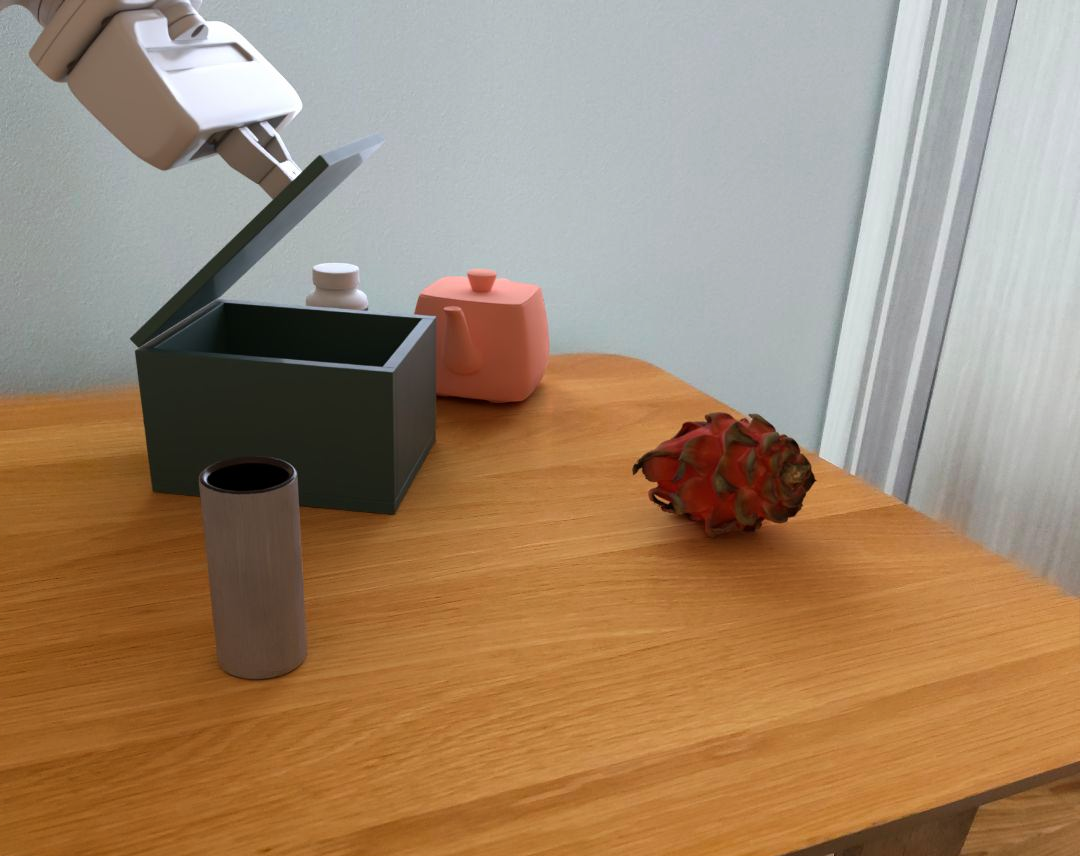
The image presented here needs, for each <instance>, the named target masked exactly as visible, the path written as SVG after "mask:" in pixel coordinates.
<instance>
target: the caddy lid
mask: <svg viewBox="0 0 1080 856" xmlns="http://www.w3.org/2000/svg"><path fill="white" fill-rule="evenodd" d="M386 140H387V138H385V137H384V135H383V134H382V133H381V131H379V130H378V131H376V132H375V131H374V132H373V133H370V134H368V135H365V136H363V137H361V138H358V139H355V140H353V141H351V142H348V143H346V144H343V145H340V146H338V147H336V148H333V149H330V150H328V151H326V152H324V153H323V152H322V153H320V154H318V155H317V156H316V157H315V158H314V159H313V160H312V161H311V162H310V163H309V164H307V166H306V167H305V168H303V170H302V172H301V173H300V174H299V175H298V176H297V177H296V178H295V179H294V180H293V181H292V182H291V183H290V184H289V185H288V186H287V187H285V188H284V189H283V190H282V191H281V192H280V193H279V194H278V195H277V196H276V197H275V198H274V199H272V200H271V201H269V203H268V204H267V205H266V206H265V207H264V208H263V209H261V211H259V212H258V213H257V215H255V216H254V217H253V218H252V220H250V221H249V222H248V223H247V224H246V225H245V226H243V228H242V229H241V230H240V231H239V232H238V233H237V234H235V236H233V238H231V240H229V242H227V244H226V245H224V246H223V247H222V248H221V249H220V250H219V251H218V252H217V253H216V254H215V255H214V256H213V257H212V258H210V260H209V261H208V262H207V263H206V264H205V265H204V266H202V268H201V269H200V270H198V272H196V273H195V274H194V275H193V276H192V278H190V279H189V280H188V281H187V282H186V283H185V284H184V285H183V286H182V287H181V288H179V290H177V292H175V293H174V295H173V296H172V297H171V298H170V299H168V300H167V302H165V303H164V304H163V305H162V306H161V307H160V308H159V309H158V310H157V311H156V312H155V313H154V314H153V315H152V316H151V317H150V318H149V319H147V321H146V322H145V323H144V324H143V325H142V326H141V327H139V329H138V330H137V331H135V332H134V333H133V335H131V336H130V337H129V340H130V341H131V342H132V343H133V345H135V346H136V347H137V349H138V348H140V347H142V346H143V345H145V344H147V343H148V342H150V341H151V340H153V339H155V338H156V337H158V336H159V335H161V334H163V333H164V332H166V331H167V330H169V329H171V328H172V327H174V326H175V325H177V324H179V323H180V322H182V321H183V320H185V319H186V318H188V317H190V316H191V315H193V314H194V313H196V312H198V311H199V310H201V309H202V308H204V307H206V306H207V305H209V304H210V303H212V302H213V301H215V300H217V299H220V298H221V297H222V296H223V295H224V294H225V293H226V292H227V291H228V290H230V289H231V288H232V287H233V286H234V285H235V284H236V283H237V282H238V281H239V280H240V279H241V278H242V277H243V276H245V275H246V273H248V272H249V270H251V269H252V268H253V267H254V266H255V265H256V264H257V263H258V262H259V261H260V260H262V258H263V257H265V255H266V254H267V253H269V252H270V251H271V250H272V249H274V247H275V246H276V245H277V244H278V243H280V241H281V240H282V239H284V238H285V237H286V236H287V235H288V234H289V233H290V232H291V231H292V230H293V229H294V228H295V227H296V226H297V225H299V224H300V223H301V221H303V220H304V219H305V218H306V217H307V216H308V215H309V214H310V213H311V212H313V210H314V209H316V208H317V207H318V206H319V204H321V203H322V202H323V201H324V200H325V199H326V198H327V197H329V195H330V194H332V192H333V191H334V190H335V189H337V188H338V187H339V186H340V185H341V184H342V183H343V182H344V181H345V180H347V178H348V177H349V176H351V174H352V173H353V172H355V171H356V169H358V168H359V167H360V166H361V165H362V164H363V163H364V162H365V161H366V160H368V158H370V156H371V155H373V153H374V152H376V151H377V150H378V149H379V148H380V147H381V146H382V145H383V144H384V143H385V142H386Z"/></svg>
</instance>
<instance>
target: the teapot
mask: <svg viewBox="0 0 1080 856" xmlns="http://www.w3.org/2000/svg"><path fill="white" fill-rule="evenodd" d="M497 274H498V273H497V272H496V271H495V270H492V269H488V268H472V269H469V270H467V271H466V275H467V276H457V275H456V276H454V275H450V276H449V275H448V276H443V277H441V278H439V279H437V280H435V281H434V282H433V283H430V285H428V286H427V287H425V288H424V289H423V290H422V291H421V292H420V293H418V297H417V301H416V304H415V307H414V308H415V309H414V311H413V314H414V315H427V316H436V396H439V397H456V398H457V397H458V398H466V399H473V400H485V401H487V402H489V403H493V404H504V403H508V402H522V401H524V400H526V399H527V398H528V397H530V396H531V394H533V392H534V391H535V390H536V389H537V388H538V386H539V385H540V383H541V381H542V380H543V378H544V375H545V373H546V371H547V368H548V365H549V361H550V331H549V322H548V316H547V310H546V304H545V299H544V295H543V290H542V288H541V286H540V285H537V284H533V283H525V282H518V281H511V280H510V279H508V278H504V277H499V278H497V276H498V275H497Z"/></svg>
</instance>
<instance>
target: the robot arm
mask: <svg viewBox="0 0 1080 856" xmlns="http://www.w3.org/2000/svg"><path fill="white" fill-rule="evenodd" d="M202 4H203V0H0V12H1V11H3V10H6V9H7V8H9V7H11V6H14V5H17V6H21V7H23V8H25V9H26V10H28V11H29V13H30V14H31V15H32V17H33V18H34V20H36V22H37V23H38V24H39V26H41V27H42V28H43V29H42V31H41V33H40V34H39V36H38V37H37V38H36V40H35V42H34V43H33V45H32V46H31V48H30V50H29V51H28V56H29V58H30V60H31V61H32V63H33V64H34V65H35V66H36V67H37V68H38V69H39V70H40V71H41V72H42V73H43V74H44V75H45V77H47V78H48V79H50V80H51V81H52V82H55V83H58V84H65V83H66V84H67V86H68V88H69V91H70V92H71V94H72V95H73V96H74V98H75V99H76V100H77V101H78V102H80V104H81V105H82V106H83V107H84V108H85V109H86V110H87V111H88V113H90V115H92V116H93V117H94V118H95V119H96V120H97V122H99V123H100V124H101V125H102V126H103V127H104V128H105V129H106V130H107V131H108V132H109V133H110V134H111V135H112V136H113V137H114V138H116V139H117V141H119V142H120V143H121V144H122V145H123V146H124V147H125V148H127V149H128V151H130V152H131V153H132V154H133V155H134V156H136V157H137V158H139V159H140V160H141V161H143V162H145V163H147V164H148V165H150V166H152V167H153V168H156V169H158V170H160V171H163V172H167V171H170V170H173V169H176V168H178V167H182V166H185V165H189V164H192V163H195V162H199V161H201V160H205V159H209V158H211V157H214V156H219V157H221V158H222V159H223V161H224V162H225V163H226V164H227V165H228V166H229V167H230V168H232V169H233V170H235V171H236V172H237V173H238V174H239V173H240V174H241V175H242V176H243V177H246V178H247V179H248V180H250V181H251V182H253V183H255V184H256V185H258V186H259V187H260V188H261V189H262V190H263V191H264V192H265V193H266V194H267V196H269V198H271V199H272V200H273V199H274V198H275V197H276V196H277V195H278V194H279V193H280V192H281V191H282V190H283V189H284V188H285V187H287V186H288V185H289V184H290V183H291V182H292V181H293V180H294V179H295V178H296V177H297V176H298V175H299V174H300V173H301V172H302V171H303V170H302V169H301V168H300V167H299V166H298V164H297V163H296V162H295V161H294V160H293V159H292V156H291V154H290V152H289V151H288V149H287V147H286V145H285V143H284V141H283V139H282V137H281V135H280V134H281V132H282V131H283V130H284V129H285V128H286V127H287V126H288V125H289V124H290V123H291V122H292V121H293V120H294V119H295V118H296V116H297V115H298V114H299V113H300V112H301V111H302V109H303V103H302V100H301V98H300V96H299V95H298V93H297V91H296V90H295V88H293V86H292V85H291V84H290V82H288V80H286V79H285V78H284V76H283V75H282V74H281V73H279V71H278V70H277V68H275V67H274V66H273V65H272V64H271V63H270V62H269V61H268V60H267V59H266V58H265V57H264V56H263V55H262V54H261V53H260V52H259V51H258V50H257V49H256V48H255V47H254V45H252V44H251V43H250V42H249V41H248V40H247V39H246V38H245V37H244V36H243V35H242V34H241V33H239V32H238V31H237V30H235V28H233V27H232V26H230V25H229V24H227V23H225V22H223V21H217V20H215V21H214V20H213V21H206V20H205V19H204V18H203V16H201V15H200V14H199V11H200V8H201V6H202Z"/></svg>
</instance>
